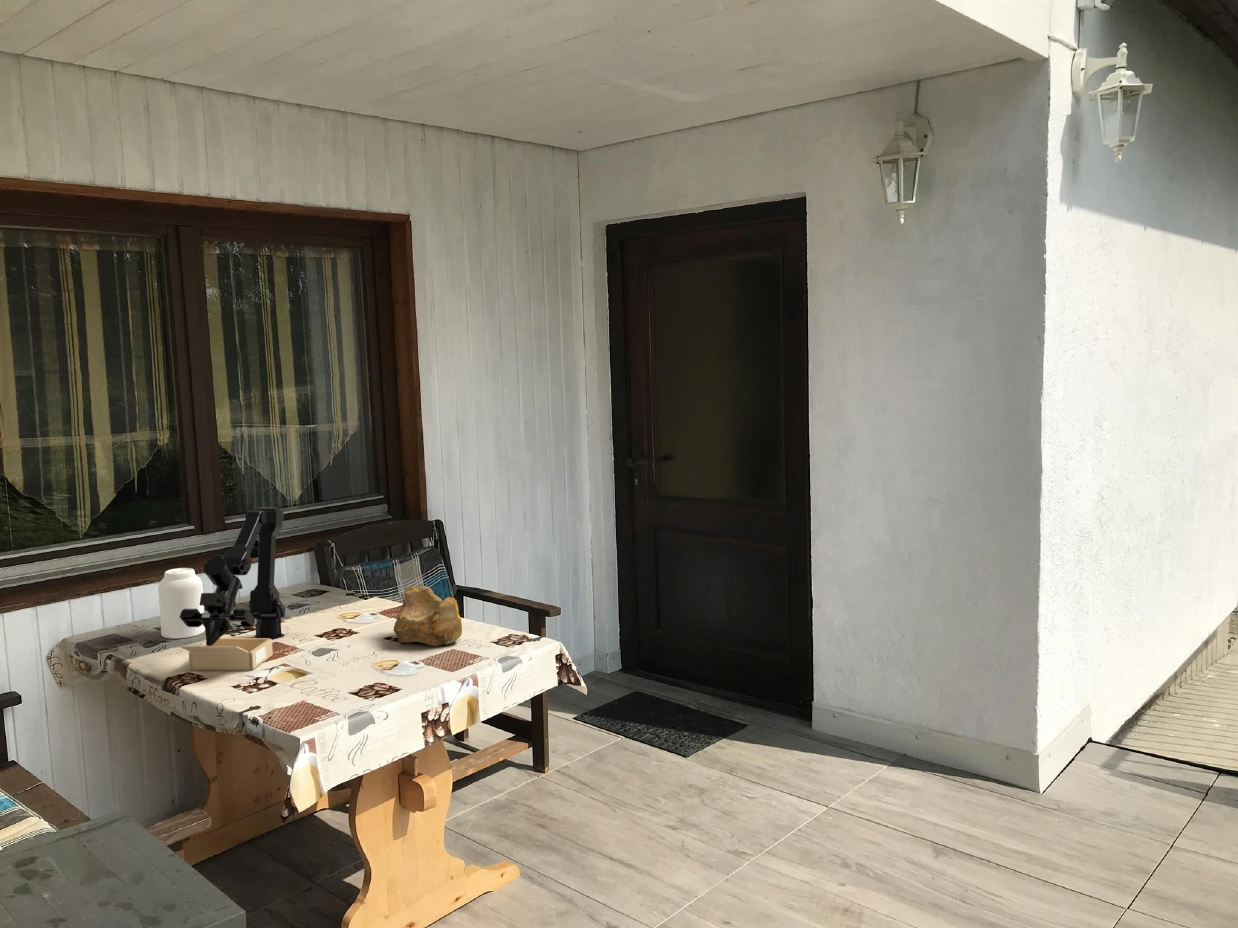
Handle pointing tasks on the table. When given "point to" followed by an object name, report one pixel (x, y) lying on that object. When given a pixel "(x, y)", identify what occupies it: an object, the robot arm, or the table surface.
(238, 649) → the flap
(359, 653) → the table surface
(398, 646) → the table surface
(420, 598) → the rough brown rock
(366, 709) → the table surface
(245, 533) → the robot arm
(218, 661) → the carton
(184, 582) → the white jar
